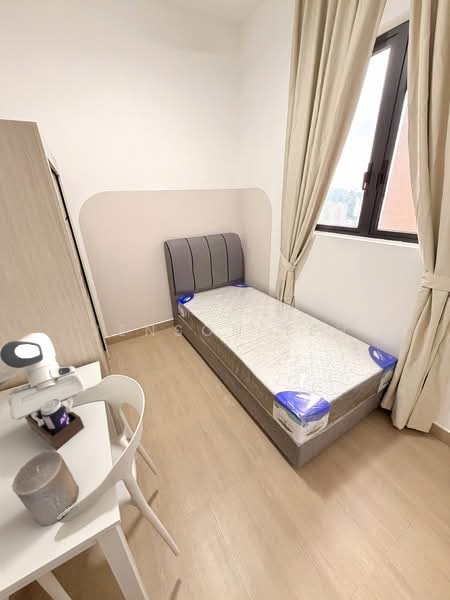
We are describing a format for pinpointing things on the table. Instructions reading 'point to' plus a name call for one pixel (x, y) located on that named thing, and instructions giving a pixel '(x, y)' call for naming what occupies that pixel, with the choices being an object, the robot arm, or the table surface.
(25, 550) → the table surface
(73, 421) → the dark brown divided box
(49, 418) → the beverage can
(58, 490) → the pillar candle
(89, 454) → the table surface
